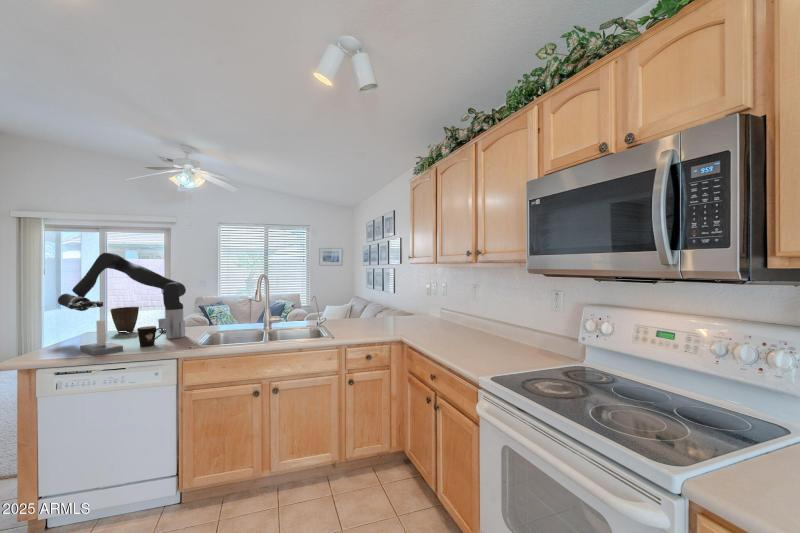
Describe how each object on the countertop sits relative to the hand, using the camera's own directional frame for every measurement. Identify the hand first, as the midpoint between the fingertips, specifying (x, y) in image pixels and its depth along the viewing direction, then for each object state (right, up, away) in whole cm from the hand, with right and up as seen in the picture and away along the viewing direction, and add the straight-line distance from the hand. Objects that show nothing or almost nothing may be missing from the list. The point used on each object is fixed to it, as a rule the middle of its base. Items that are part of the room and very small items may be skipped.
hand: (90, 306), depth 199 cm
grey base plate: (+12, -22, -7) cm, 26 cm away
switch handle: (+12, -20, -7) cm, 24 cm away
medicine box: (+12, -22, +45) cm, 52 cm away
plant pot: (-11, -22, +40) cm, 47 cm away
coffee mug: (+30, -22, +4) cm, 37 cm away
